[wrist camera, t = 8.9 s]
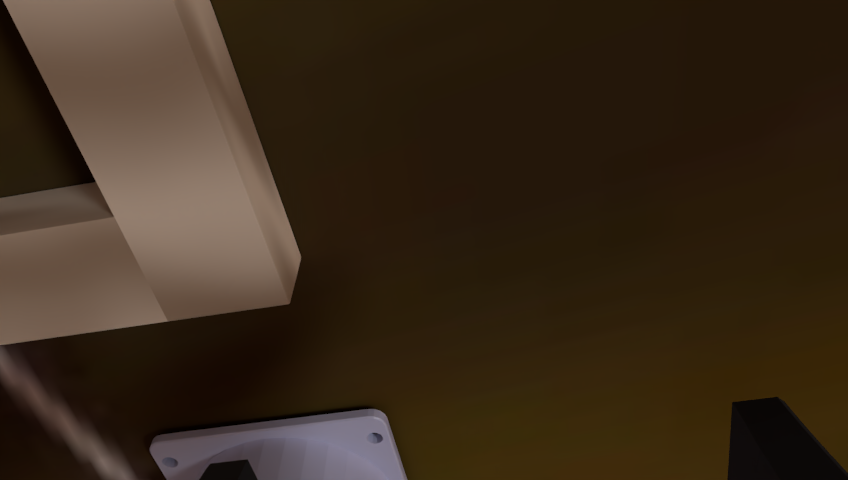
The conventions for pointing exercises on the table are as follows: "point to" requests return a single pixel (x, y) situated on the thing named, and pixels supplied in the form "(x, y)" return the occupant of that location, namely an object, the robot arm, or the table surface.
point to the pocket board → (142, 178)
